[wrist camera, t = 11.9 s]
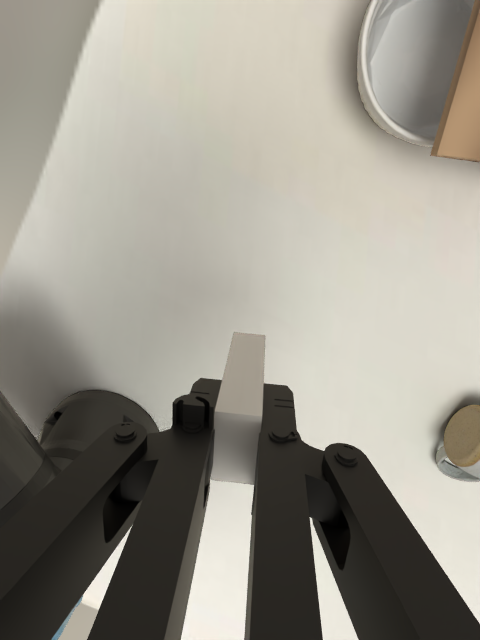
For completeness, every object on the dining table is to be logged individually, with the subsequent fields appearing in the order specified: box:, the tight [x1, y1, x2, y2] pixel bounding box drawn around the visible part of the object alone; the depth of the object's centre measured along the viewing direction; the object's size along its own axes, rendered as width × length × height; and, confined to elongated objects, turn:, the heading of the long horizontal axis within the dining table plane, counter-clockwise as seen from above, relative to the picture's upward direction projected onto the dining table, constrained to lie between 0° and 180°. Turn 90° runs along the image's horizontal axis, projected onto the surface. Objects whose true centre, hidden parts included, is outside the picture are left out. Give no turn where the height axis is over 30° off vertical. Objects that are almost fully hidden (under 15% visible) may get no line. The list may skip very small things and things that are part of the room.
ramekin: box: [357, 0, 475, 147], centre depth 29 cm, size 13×13×7 cm
